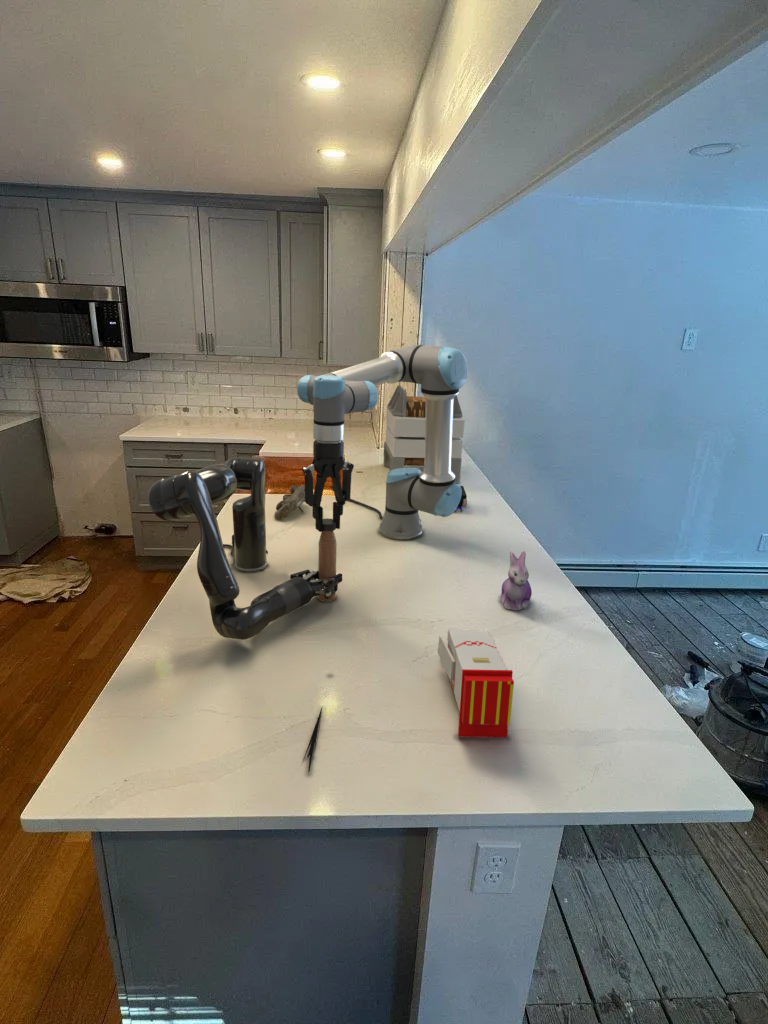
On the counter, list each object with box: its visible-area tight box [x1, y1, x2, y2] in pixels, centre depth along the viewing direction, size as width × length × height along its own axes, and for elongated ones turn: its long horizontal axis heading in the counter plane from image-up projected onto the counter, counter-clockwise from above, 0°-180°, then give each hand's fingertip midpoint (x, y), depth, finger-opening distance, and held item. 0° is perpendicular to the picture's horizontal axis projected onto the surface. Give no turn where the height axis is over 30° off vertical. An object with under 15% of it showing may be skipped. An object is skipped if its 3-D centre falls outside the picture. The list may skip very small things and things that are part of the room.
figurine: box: [500, 550, 533, 611], centre depth 153 cm, size 9×10×15 cm
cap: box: [323, 517, 337, 532], centre depth 147 cm, size 4×4×2 cm
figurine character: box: [456, 485, 468, 512], centre depth 228 cm, size 7×8×15 cm
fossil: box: [273, 484, 305, 521], centre depth 215 cm, size 22×10×15 cm
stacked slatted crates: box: [383, 384, 465, 484], centre depth 268 cm, size 34×33×41 cm
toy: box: [437, 628, 515, 738], centre depth 117 cm, size 12×13×30 cm
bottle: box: [317, 530, 338, 602], centre depth 151 cm, size 5×5×22 cm
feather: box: [301, 673, 332, 771], centre depth 108 cm, size 2×28×2 cm
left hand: (333, 573), depth 154 cm, fingers closed on bottle, 4 cm apart
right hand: (327, 528), depth 147 cm, fingers closed on cap, 4 cm apart
